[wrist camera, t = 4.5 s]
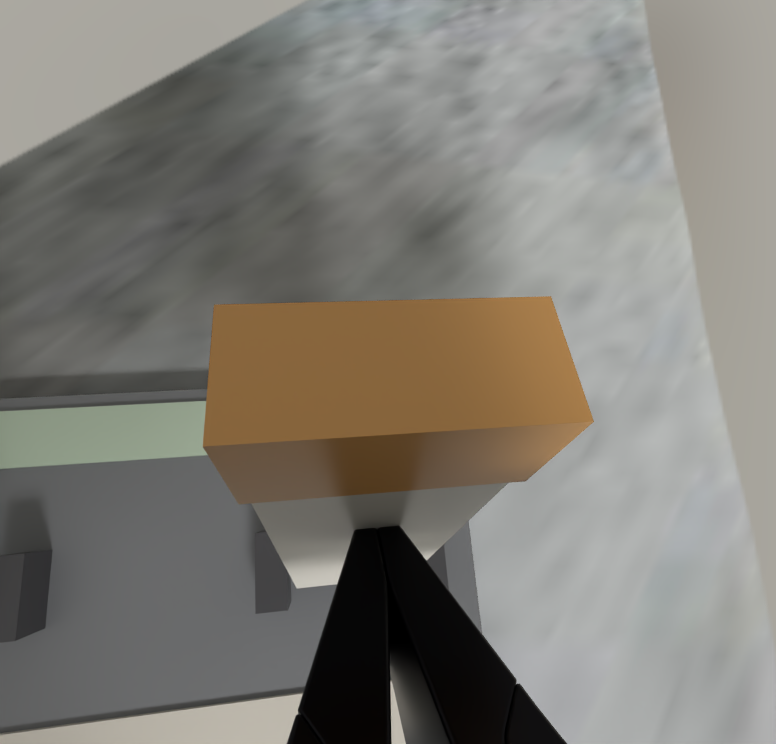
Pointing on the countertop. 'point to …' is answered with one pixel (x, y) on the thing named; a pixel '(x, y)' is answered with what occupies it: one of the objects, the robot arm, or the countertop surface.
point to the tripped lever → (383, 415)
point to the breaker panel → (149, 583)
